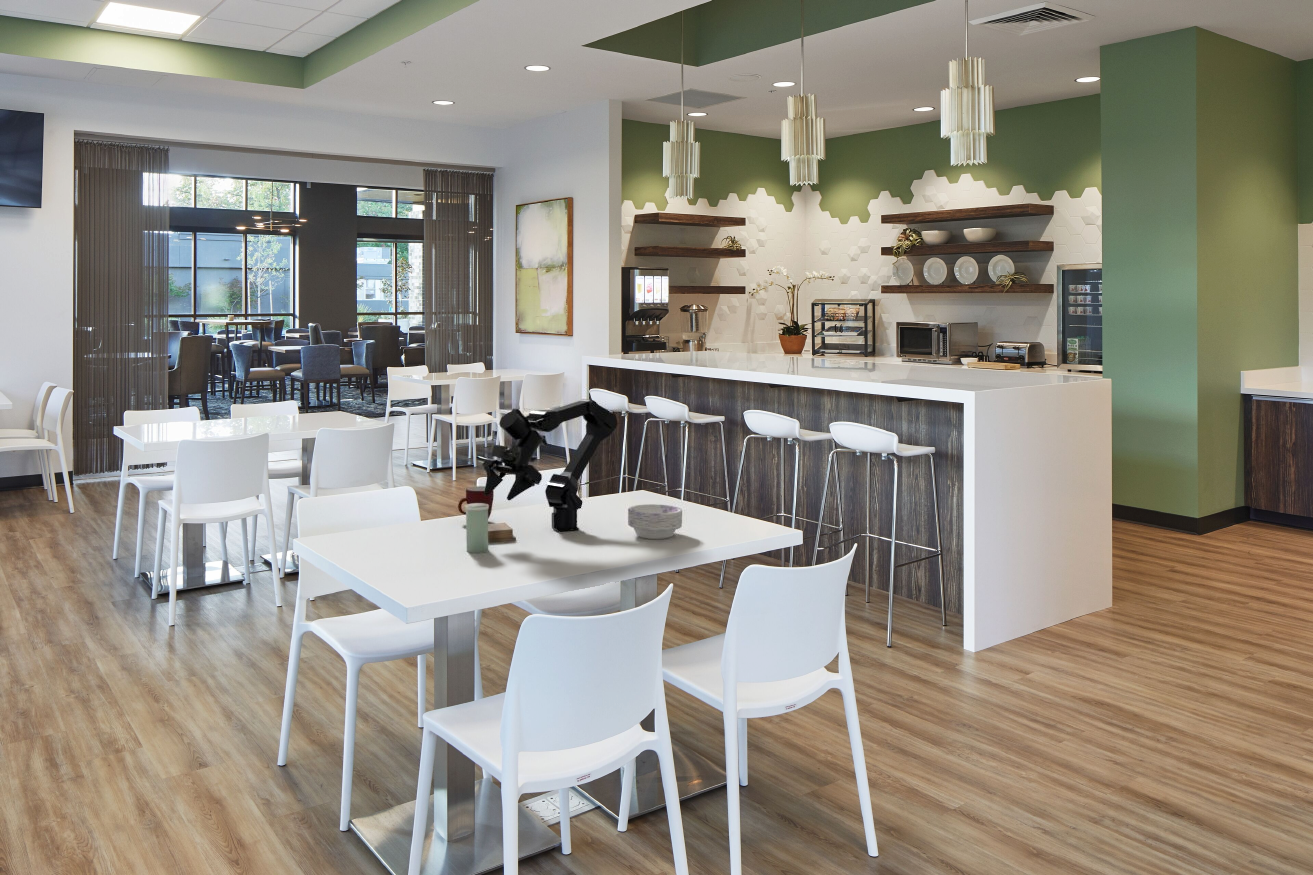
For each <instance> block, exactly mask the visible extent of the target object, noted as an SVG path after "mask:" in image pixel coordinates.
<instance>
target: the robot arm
mask: <svg viewBox="0 0 1313 875" xmlns="http://www.w3.org/2000/svg"><path fill="white" fill-rule="evenodd" d="M580 417H582V419H583V420H584V421H585V422H586V423H585V435H584V437H583V438H582V439H581V442H580V443H579V445H578V447H576V448H577V449H576V450H575V452H574V453H573V455H572V456H571V458H570V460H569V461H568V463H567V465H566V466H565V468H564V470H563V472H561V473H553V474H552V475H551V477H550V479H549V481H548V482H547V483H546V484H545V485H546V488H545V490H544V493H545V497H546V501H547V504H548V506H549V507H550V508H553V509H552V513H551V529H553V530H554V531H556V532H566V531H567V532H568V531H578V530H580V527H579V526H578V511H579V510H580V509H582V507H583V499H581V498H580V496H579V495H578V492H579V483H578V482H579V479H580V478H581V476H582V474H583V473H584V471H585V470H586V468H587V466H588V464H589V463H590V461H591V459H592V457H593V456H594V454H595V452H596V451H597V449H598V447H599V445H600V444H601V442H603V441H604V440H606V439H608V438H609V437H611V435H612V434H613V433H614V431H615V430H616V428H617V426H618V418H617V416H616V414H615V413H613V412H611V411H610V410H608V409H607V408H605V407H603V406H601V405H600V404H598V403H597V402H596V400H593V399H587V398H586V399H585V398H582V399H580V400H578V401H575V402H572V403H568V404H565V405H562V406H559V407H556V408H553V409H534V410H531V411H530V412H528V415H524V414H523V413H522V411H521V410H520V409H519V408H512V409H511V411H508V412H506V413H505V414H504V415H503V416H501V418H500V420H499V424H498V425H499V427H500V428H501V429H502V430H503V431H504V432H505V433H506V434H507V435H509V437H511V439H513V440H515V441H516V440H517V441H516V443H515V444H508V446H506V445H500V444H493V447H492V449H491V450H492V451H491V453H490V454H491V455H490V456H491V457H493V458H494V457H495V458H499V459H500V460H498V459H493V458H486V459H485V460H484V461H483V463H481V467H483V470H484V471H485V472H486V482H485V485H484V486H485V491H484V495H485V496H488V495H489V494H490V493H491V492H492V491H495V489H496V488H497V487H498V486H499V485H500V484H501V483H503V481H504V479H503V478H504V477H505V476H507V474H509V475H514V476H515V477H514V478H515V480H514V482H513V484H512V486H511V487H510V490H509V492H508V494H507V497H506V500H507V501H511V500H513V499H515V498H516V497H517V496H519V495H520V494H522V493H523V492H525V491H526V490H527V491H528V489H530V488H532V487H535V486H537V485H540V483H541V481H542V479H543V477H542V476H543V475H542V473H541V472H540V471H539V470H538V469H537V468H536V467H535V466H534V465H532V464H529V463H534V461H535V460H536V459H535V458H534V455H535V453H536V452H537V450H538V449H539V446H547V445H548V442H547V438H546V435H544V434H540V433H539V432H543V433H550V432H553V431H554V430H556V429H557V428H558V427H559V426H560V425H561V424H562V423H565V422H568V421H571V420H574V419H576V418H580ZM503 464H504V465H503Z"/></svg>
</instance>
